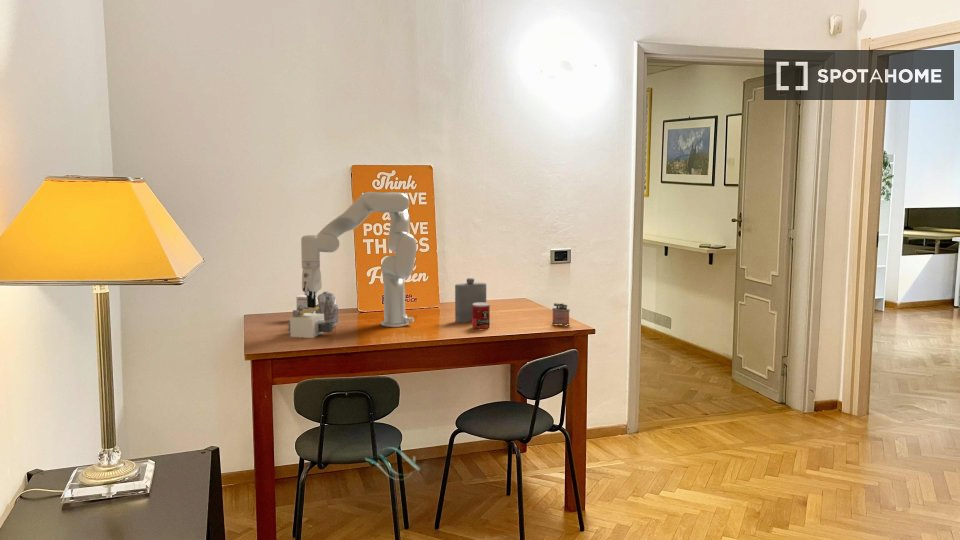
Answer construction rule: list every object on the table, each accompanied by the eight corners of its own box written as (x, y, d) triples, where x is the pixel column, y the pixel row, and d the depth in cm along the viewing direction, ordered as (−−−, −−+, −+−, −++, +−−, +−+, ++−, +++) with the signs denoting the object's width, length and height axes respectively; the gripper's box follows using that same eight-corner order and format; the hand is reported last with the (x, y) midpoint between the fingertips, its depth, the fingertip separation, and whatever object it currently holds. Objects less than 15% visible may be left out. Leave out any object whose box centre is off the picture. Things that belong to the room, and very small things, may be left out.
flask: (483, 318, 353) (483, 277, 350) (487, 321, 347) (487, 278, 345) (453, 320, 348) (453, 278, 345) (457, 323, 342) (456, 280, 340)
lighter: (570, 325, 339) (570, 303, 337) (568, 326, 336) (568, 304, 334) (553, 323, 342) (553, 302, 341) (551, 324, 339) (551, 303, 338)
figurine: (338, 322, 344) (337, 290, 342) (339, 328, 333) (338, 294, 331) (315, 323, 342) (314, 291, 340) (315, 329, 331) (314, 295, 329)
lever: (319, 309, 320) (318, 305, 320) (315, 311, 315) (314, 307, 315) (299, 314, 322) (298, 310, 322) (295, 316, 318) (293, 312, 318)
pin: (333, 331, 321) (333, 320, 320) (327, 334, 315) (327, 323, 314) (293, 329, 324) (293, 318, 324) (287, 332, 319) (286, 321, 318)
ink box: (296, 321, 347) (295, 296, 345) (300, 319, 352) (299, 294, 350) (314, 321, 346) (313, 296, 344) (317, 319, 351) (317, 295, 349)
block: (324, 331, 325) (323, 307, 323) (312, 338, 313) (311, 312, 312) (303, 330, 327) (302, 306, 325) (290, 336, 315) (289, 311, 314)
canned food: (477, 330, 327) (477, 306, 326) (469, 327, 334) (469, 303, 333) (492, 328, 331) (492, 304, 329) (484, 325, 338) (484, 301, 336)
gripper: (311, 267, 307) (312, 310, 310) (326, 262, 322) (327, 304, 324) (294, 266, 309) (295, 310, 311) (310, 262, 323) (311, 304, 326)
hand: (311, 307), depth 318 cm, fingers closed
